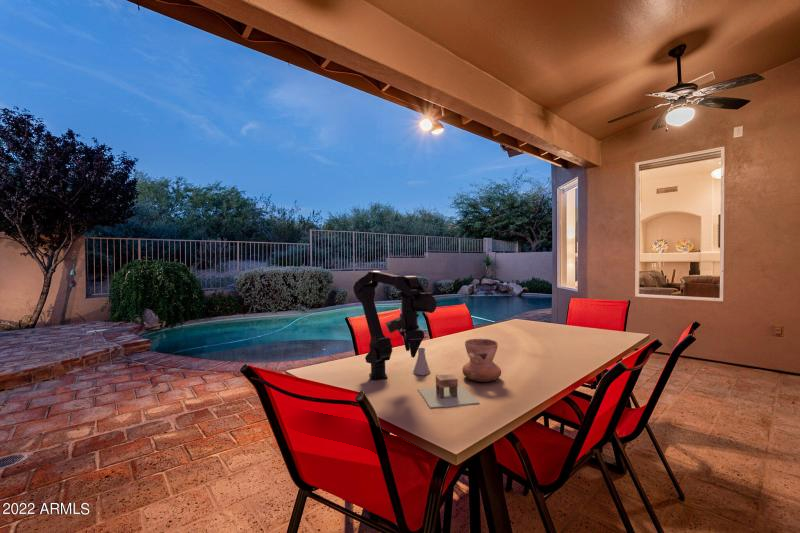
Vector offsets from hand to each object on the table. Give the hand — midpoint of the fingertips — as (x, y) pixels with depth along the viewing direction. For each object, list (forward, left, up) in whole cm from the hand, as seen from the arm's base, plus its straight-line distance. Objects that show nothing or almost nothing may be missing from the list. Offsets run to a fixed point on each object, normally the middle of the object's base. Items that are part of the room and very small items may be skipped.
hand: (410, 353), depth 121 cm
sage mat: (+11, +10, -12) cm, 19 cm away
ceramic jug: (-3, +29, -12) cm, 32 cm away
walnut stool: (+11, +10, -12) cm, 19 cm away
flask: (-15, +8, -12) cm, 21 cm away
